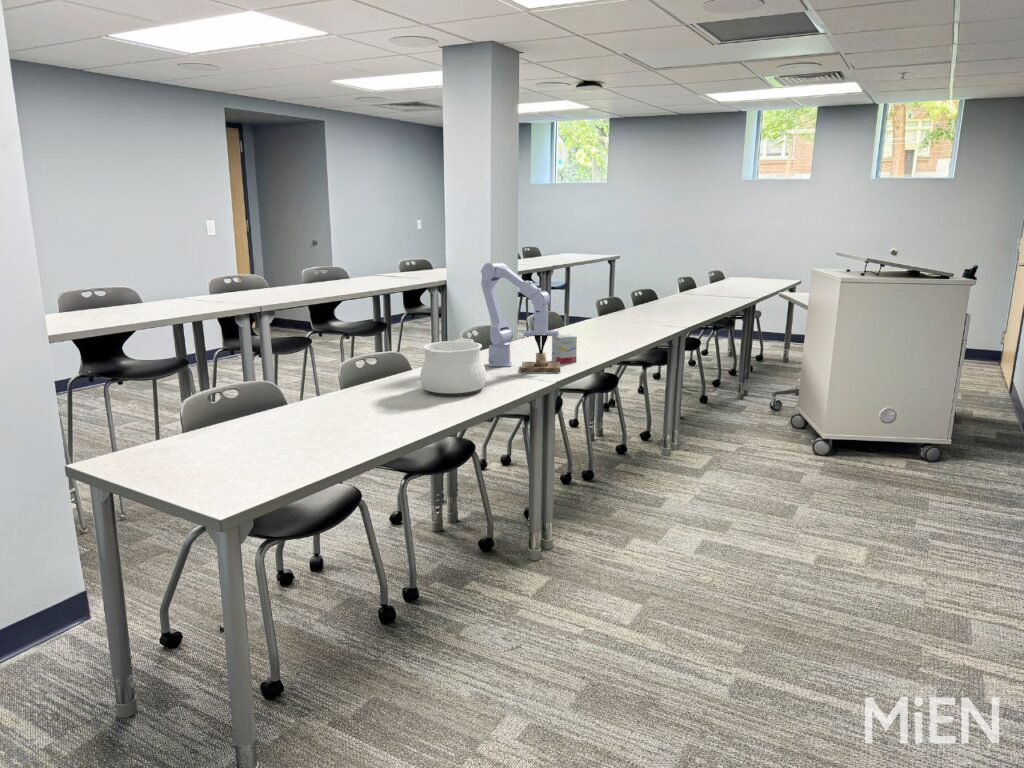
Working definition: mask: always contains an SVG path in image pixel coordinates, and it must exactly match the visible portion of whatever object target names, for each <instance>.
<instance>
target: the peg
mask: <svg viewBox="0 0 1024 768" xmlns="http://www.w3.org/2000/svg"><path fill="white" fill-rule="evenodd" d="M535 362H536V366H546V362H547V352H543V354H539V352H536V353H535Z"/></svg>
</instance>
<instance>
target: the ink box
mask: <svg viewBox="0 0 1024 768" xmlns="http://www.w3.org/2000/svg"><path fill="white" fill-rule="evenodd" d="M577 341H578V340H577V336H575V335H572V334H569V333H566V334H565V333H564V334H563V333H562V334H560V333H559V336H551V361H552V360H553V361H552V362H554V361H555V362H560V365H563V364H562V363H565V364H573V363H572V362H575V363H577V347H578V346H577Z"/></svg>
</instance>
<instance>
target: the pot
mask: <svg viewBox="0 0 1024 768" xmlns="http://www.w3.org/2000/svg"><path fill="white" fill-rule="evenodd" d="M481 348H483V345H482V344H481V343H478V342H474V339H471V338H457V339H455V340H445V341H436V342H430V343H426V344H424V345H423V346H422V349H423V350H424V362H423V364H422V367H421V369H420V370H421V371H420V376H419V377H420V378H419V379H420V384H421V387H422V388H423V390H424V391H425V392H426V393H428V394H430V395H433V396H437V397H445V398H448V397H449V398H453V397H454V398H455V397H458V398H459V397H467V396H471V395H474V394H477V393H479V392H481V391H482V390H483V389H484V387H485V384H486V381H487V370H486V367H485V365H484V363H483V361H482V356H481Z"/></svg>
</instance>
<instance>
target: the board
mask: <svg viewBox="0 0 1024 768" xmlns="http://www.w3.org/2000/svg"><path fill="white" fill-rule="evenodd" d="M521 363H522V364H521V367H520V369H521V372H560V373H561V364H560V362H554V361H546V366H536V361H522V362H521Z"/></svg>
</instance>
